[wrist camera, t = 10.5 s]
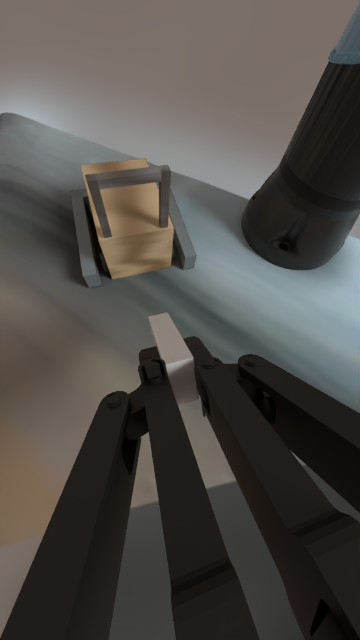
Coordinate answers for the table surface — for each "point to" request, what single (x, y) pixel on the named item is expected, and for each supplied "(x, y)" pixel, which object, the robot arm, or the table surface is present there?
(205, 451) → the table surface
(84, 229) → the frame
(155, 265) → the cart
